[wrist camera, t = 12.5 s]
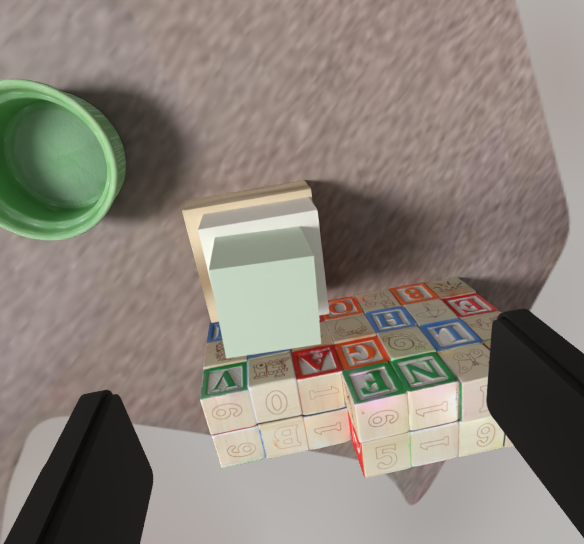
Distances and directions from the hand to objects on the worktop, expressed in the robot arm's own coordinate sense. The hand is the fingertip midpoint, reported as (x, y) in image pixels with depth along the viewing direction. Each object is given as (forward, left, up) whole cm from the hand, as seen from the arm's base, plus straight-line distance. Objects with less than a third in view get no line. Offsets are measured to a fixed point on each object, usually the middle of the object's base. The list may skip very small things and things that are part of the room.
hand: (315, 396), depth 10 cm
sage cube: (+3, -1, -15) cm, 15 cm away
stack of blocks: (+12, +4, -22) cm, 25 cm away
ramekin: (-5, -13, -22) cm, 26 cm away
